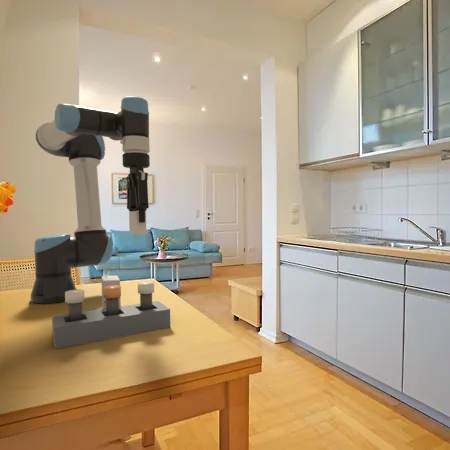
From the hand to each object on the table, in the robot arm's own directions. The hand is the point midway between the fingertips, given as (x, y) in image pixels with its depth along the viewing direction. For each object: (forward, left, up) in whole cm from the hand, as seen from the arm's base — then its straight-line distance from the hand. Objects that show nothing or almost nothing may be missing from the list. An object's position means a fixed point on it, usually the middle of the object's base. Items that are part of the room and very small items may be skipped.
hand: (137, 233), depth 101 cm
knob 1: (+7, -18, -21) cm, 29 cm away
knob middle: (+7, -9, -21) cm, 24 cm away
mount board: (+7, -9, -25) cm, 27 cm away
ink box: (-7, -7, -25) cm, 27 cm away
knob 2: (+7, 0, -21) cm, 22 cm away
